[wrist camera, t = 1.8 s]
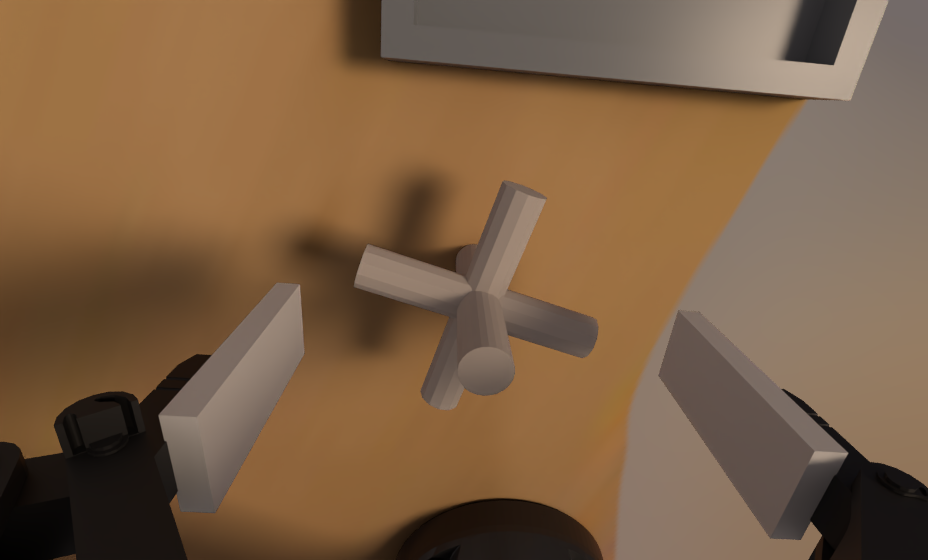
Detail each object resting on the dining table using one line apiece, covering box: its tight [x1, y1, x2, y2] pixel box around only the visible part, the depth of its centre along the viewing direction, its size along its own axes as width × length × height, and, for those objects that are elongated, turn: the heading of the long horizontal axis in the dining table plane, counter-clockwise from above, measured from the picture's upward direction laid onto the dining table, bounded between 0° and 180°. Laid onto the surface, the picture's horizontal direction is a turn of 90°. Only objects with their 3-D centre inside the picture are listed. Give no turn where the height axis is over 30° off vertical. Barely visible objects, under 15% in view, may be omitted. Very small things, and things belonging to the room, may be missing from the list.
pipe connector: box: [354, 181, 598, 410], centre depth 19 cm, size 10×10×10 cm
